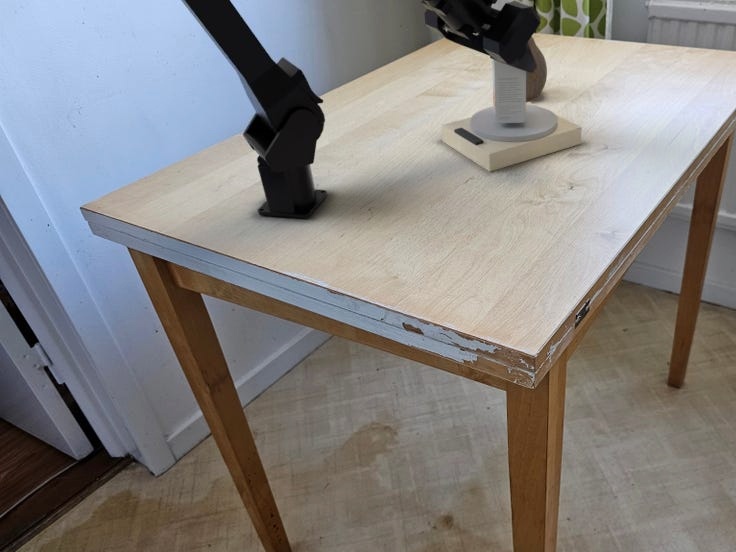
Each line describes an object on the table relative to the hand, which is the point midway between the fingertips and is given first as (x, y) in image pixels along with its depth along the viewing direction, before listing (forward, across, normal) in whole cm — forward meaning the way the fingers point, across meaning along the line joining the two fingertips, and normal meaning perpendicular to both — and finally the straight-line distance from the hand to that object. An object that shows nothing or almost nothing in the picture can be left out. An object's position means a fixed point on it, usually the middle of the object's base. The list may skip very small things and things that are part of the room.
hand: (517, 62), depth 87 cm
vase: (+16, +14, -1) cm, 21 cm away
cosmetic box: (+4, 0, +6) cm, 7 cm away
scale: (+7, 0, +8) cm, 10 cm away
